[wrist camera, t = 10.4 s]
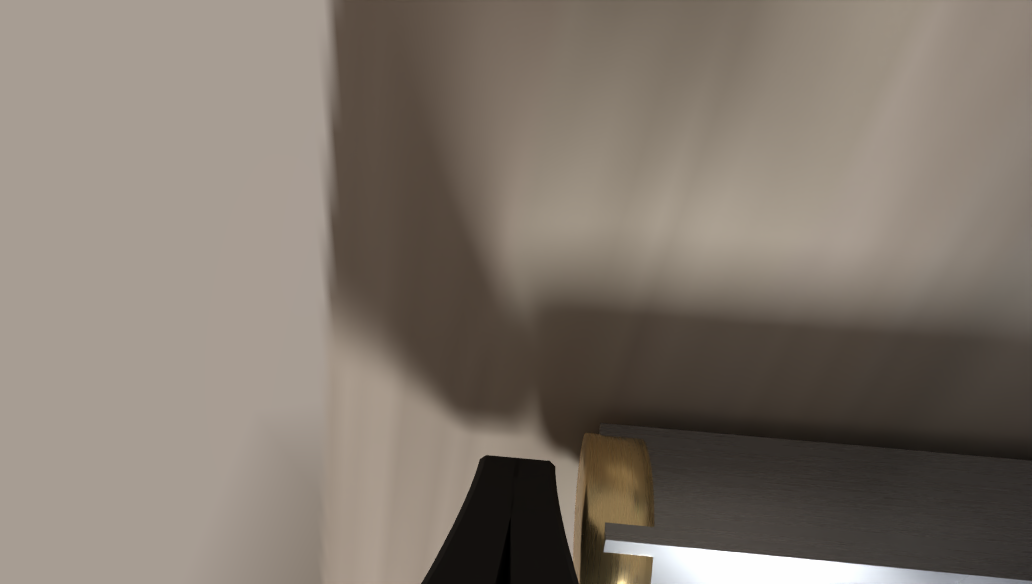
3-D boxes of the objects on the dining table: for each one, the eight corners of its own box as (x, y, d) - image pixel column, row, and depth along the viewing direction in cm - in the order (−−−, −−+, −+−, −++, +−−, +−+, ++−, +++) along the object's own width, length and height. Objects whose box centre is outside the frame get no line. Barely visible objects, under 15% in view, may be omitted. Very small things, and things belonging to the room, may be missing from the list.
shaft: (1387, 466, 10) (1645, 646, 8) (1264, 568, 12) (1445, 744, 10) (587, 397, 11) (592, 544, 9) (573, 503, 13) (572, 651, 10)
